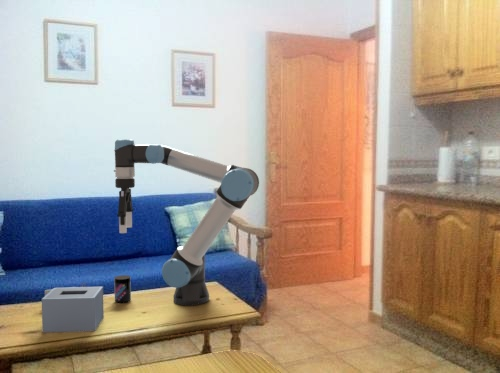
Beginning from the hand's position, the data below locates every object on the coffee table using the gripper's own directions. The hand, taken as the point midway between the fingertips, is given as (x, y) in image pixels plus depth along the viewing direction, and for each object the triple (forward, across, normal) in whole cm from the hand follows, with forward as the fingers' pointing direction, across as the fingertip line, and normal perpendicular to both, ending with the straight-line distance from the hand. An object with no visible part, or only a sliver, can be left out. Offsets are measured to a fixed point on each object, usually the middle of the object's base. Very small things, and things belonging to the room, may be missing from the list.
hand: (125, 230), depth 192 cm
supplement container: (+32, -7, -3) cm, 33 cm away
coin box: (+32, +19, -16) cm, 40 cm away
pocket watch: (+32, 0, -16) cm, 36 cm away
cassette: (+32, -2, -27) cm, 42 cm away
